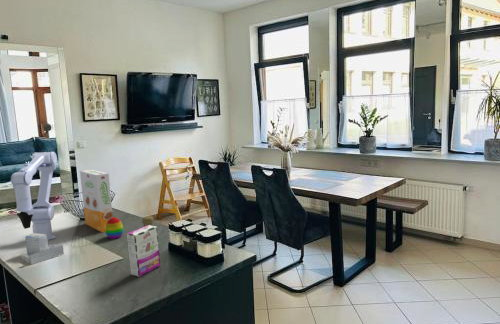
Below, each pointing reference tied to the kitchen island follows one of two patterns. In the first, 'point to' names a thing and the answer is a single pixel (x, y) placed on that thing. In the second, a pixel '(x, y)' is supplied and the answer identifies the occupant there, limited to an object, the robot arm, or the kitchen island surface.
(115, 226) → the decorative egg
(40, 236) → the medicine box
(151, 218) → the cork
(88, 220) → the cereal box
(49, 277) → the kitchen island surface
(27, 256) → the jig bracket
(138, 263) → the candy bar box
